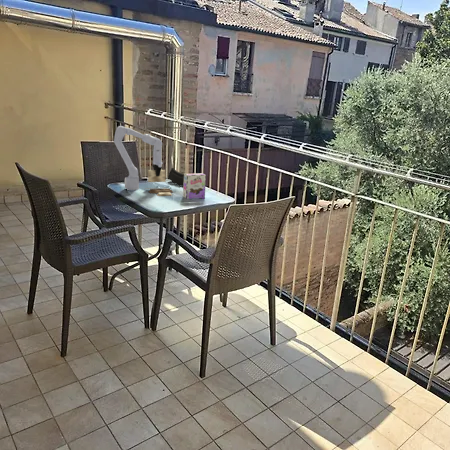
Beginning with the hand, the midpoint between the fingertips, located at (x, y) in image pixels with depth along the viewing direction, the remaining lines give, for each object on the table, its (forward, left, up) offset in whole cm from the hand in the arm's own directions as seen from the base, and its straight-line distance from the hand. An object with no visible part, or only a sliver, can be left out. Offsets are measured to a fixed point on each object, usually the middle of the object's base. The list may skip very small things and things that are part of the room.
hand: (157, 175), depth 289 cm
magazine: (+22, +14, -11) cm, 28 cm away
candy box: (+18, -27, -10) cm, 34 cm away
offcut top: (0, -18, -9) cm, 21 cm away
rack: (0, -10, -10) cm, 14 cm away
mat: (0, 0, -10) cm, 10 cm away
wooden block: (0, 0, -4) cm, 4 cm away
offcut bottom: (0, -18, -11) cm, 21 cm away
